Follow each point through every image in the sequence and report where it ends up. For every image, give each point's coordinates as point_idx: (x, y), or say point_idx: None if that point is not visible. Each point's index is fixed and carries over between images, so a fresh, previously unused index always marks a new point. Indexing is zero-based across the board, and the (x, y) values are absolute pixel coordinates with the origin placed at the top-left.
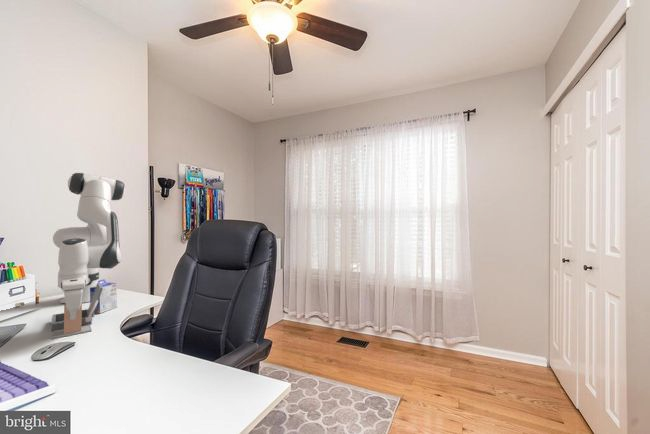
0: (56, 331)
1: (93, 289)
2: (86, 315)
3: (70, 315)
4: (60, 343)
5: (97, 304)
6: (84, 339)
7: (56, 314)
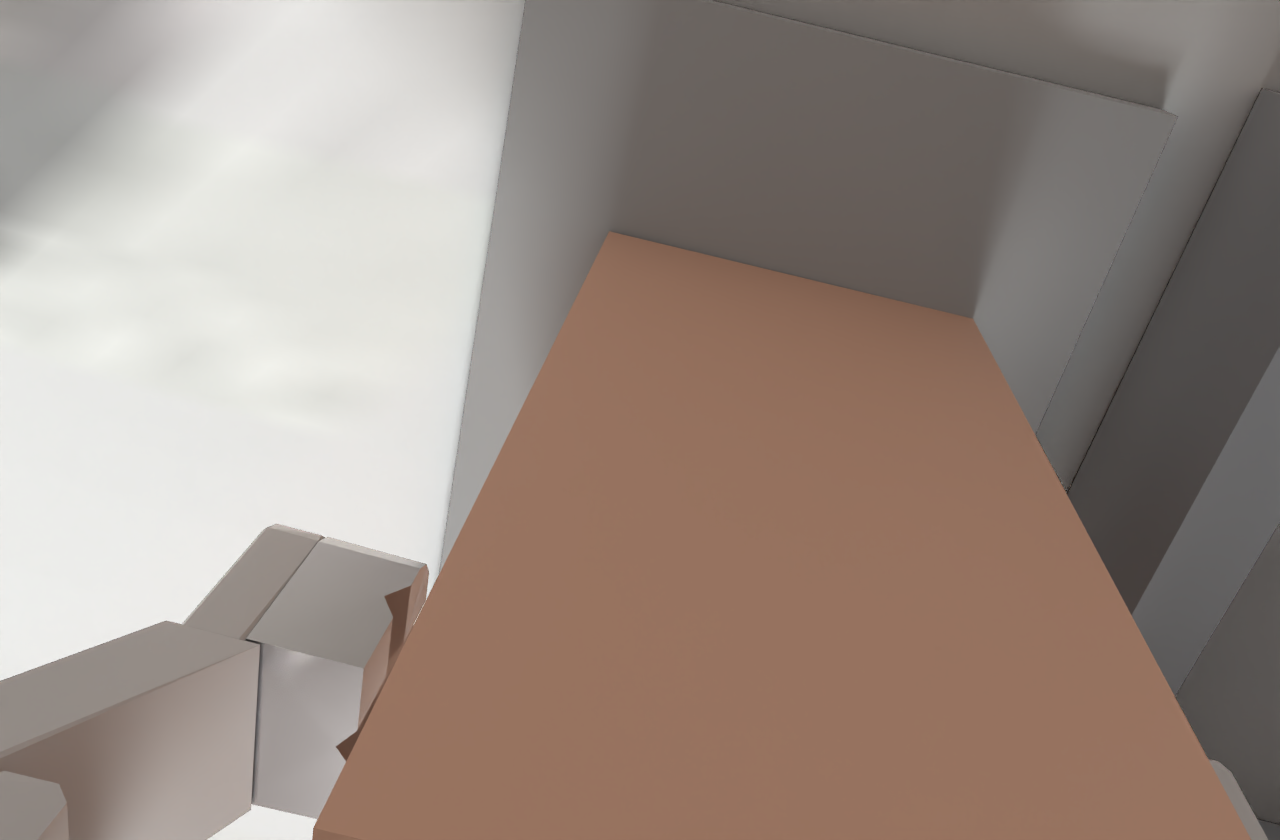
0: (1049, 168)
1: None
2: None
3: (198, 626)
4: (65, 20)
5: None
6: (12, 410)
7: None
